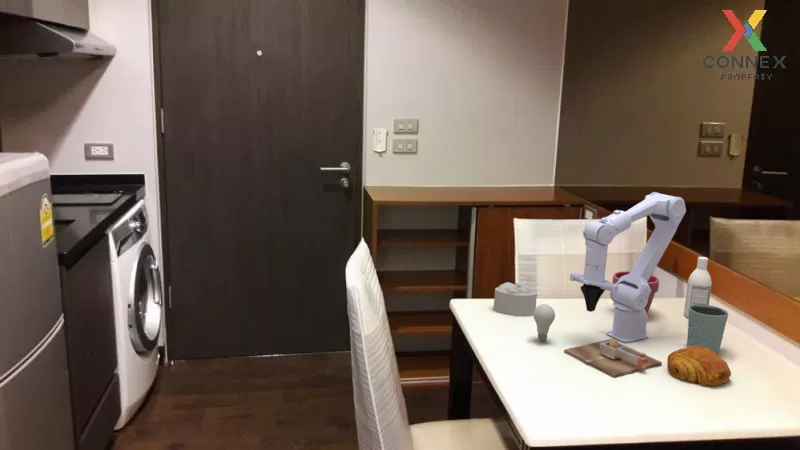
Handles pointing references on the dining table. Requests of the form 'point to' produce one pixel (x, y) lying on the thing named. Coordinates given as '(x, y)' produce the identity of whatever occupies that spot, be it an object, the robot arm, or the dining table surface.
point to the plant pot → (652, 283)
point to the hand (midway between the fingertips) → (590, 310)
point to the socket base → (609, 359)
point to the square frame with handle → (622, 354)
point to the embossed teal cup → (706, 326)
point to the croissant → (698, 366)
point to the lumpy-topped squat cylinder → (515, 299)
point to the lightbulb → (543, 320)
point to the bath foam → (698, 286)
